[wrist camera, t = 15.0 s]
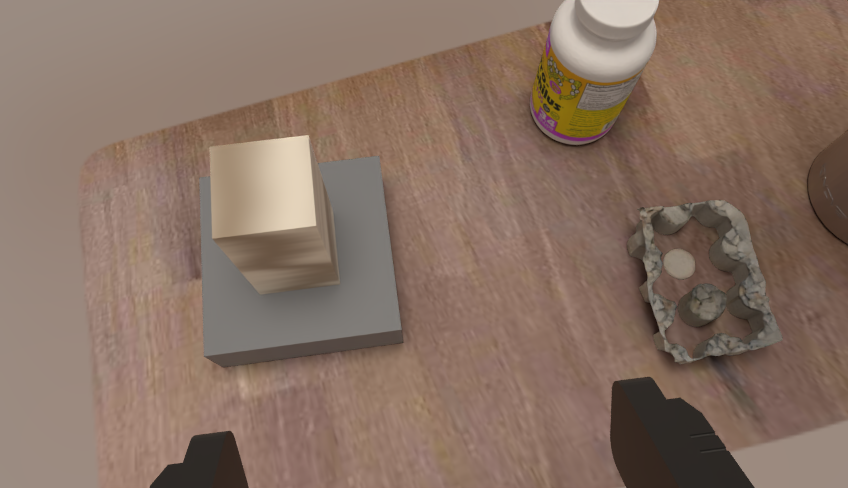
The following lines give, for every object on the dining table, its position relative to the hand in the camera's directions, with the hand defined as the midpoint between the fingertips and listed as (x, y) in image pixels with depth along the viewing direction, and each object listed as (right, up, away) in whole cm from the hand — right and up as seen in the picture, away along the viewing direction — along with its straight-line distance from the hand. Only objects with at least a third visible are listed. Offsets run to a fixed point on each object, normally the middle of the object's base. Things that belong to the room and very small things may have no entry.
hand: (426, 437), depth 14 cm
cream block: (-8, +4, +28) cm, 29 cm away
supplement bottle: (+11, +14, +37) cm, 41 cm away
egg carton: (+18, +1, +32) cm, 37 cm away
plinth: (-8, +2, +32) cm, 33 cm away
